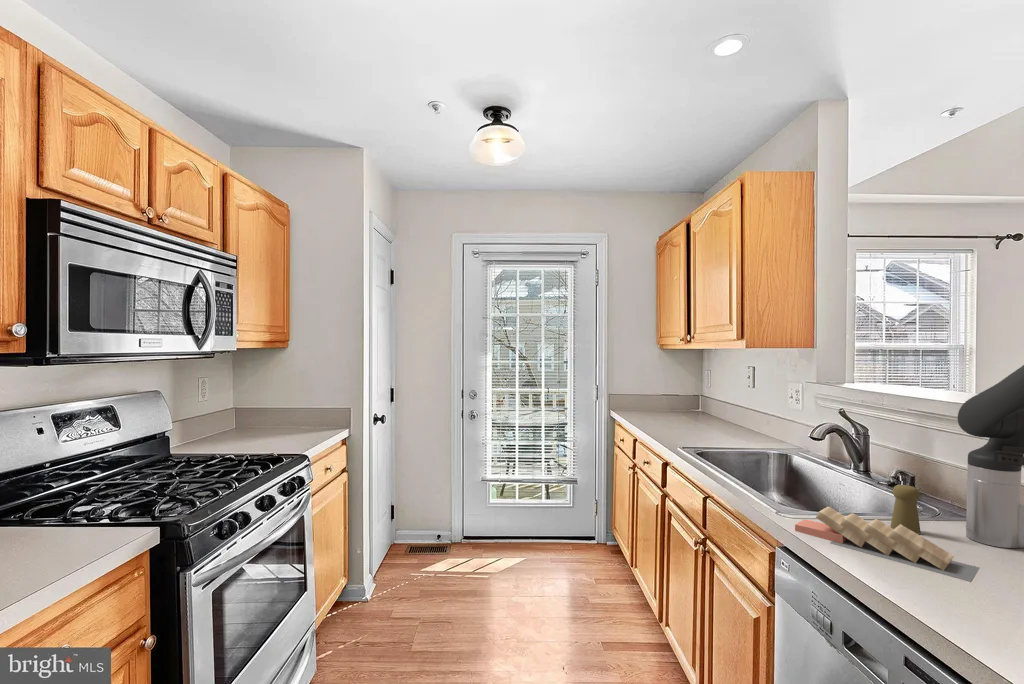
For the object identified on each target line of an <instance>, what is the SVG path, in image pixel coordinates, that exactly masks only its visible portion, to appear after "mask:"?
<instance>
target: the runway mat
mask: <svg viewBox="0 0 1024 684" xmlns="http://www.w3.org/2000/svg"><path fill="white" fill-rule="evenodd" d="M829 544H830V545H835V546H837V547H842V548H846V549H849V550H852V551H856V552H860V553H863V554H867V555H871V556H874V557H878V558H883V559H885V560H889V561H893V562H897V563H900V564H903V565H907V566H911V567H915V568H918V569H922V570H924V571H930V572H933V573H936V574H940V575H944V576H947V577H951V578H955V579H958V580H962V581H965V582H969V583H971V582H972V581H973V580H974V578H975V576H976V575H977V573H978V572H979V569H980V567H979V566H975V565H971V564H969V563H968V564H967V563H963V562H959V561H956V560H953V559H952V560H951V562H950V563H949V565H948V566H947V567H946V568H945V570H944V571H943V570H941V569H940V568H938V567H936V566H935V565H933V564H932V563H930V562H928V561H927V560H925V559H923V558H922V557H921V558H920V559H919V560H918V561H917V562H916V563H914V562H913V561H911V560H909V559H908V558H906V557H905V556H903V555H901V554H900V553H898V552H897V551H895V550H894V551H893V552H892V553H891V554H890V555H889V556H887V555H886V554H884V553H883V552H881V551H880V550H878V549H877V548H875V547H874V546H872V545H871V544H869V543H866V544H865V545H864V546H862V547H860V546H858V545H857V544H855V543H854V542H852V541H851V540H849V539H848V540H847V541H845V542H844V543H839V542H835V541H830V542H829Z"/></svg>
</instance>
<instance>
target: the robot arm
mask: <svg viewBox="0 0 1024 684" xmlns="http://www.w3.org/2000/svg"><path fill="white" fill-rule="evenodd" d="M957 423H958V426H959V428H960V429H961V430H962V431H963V432H965V433H966V434H968V435H970V436H974V437H978V438H985V439H986V438H988V441H987V442H986V444H984V445H983V446H981V447H978V448H975V449H973V450H971V451H969V452H968V453H967V471H966V472H967V474H966V477H967V481H966V518H965V519H966V520H965V521H966V522H965V523H966V525H965V530H966V531H965V535H966V537H967V538H968V539H970V540H972V541H975V542H977V543H981V544H984V545H988V546H993V547H999V548H1006V549H1008V548H1009V549H1015V548H1016V549H1018V548H1022V549H1023V548H1024V504H1023V503H1022V499H1021V498H1022V468H1023V469H1024V364H1023V365H1022V366H1020V367H1019V368H1017V369H1015V370H1014V371H1013V372H1011V373H1010V374H1008V375H1007V376H1006V377H1005V378H1003V379H1002V380H1000V381H999V382H997V383H996V384H994V385H992V386H990V387H989V388H986V389H985V390H982V391H981V392H979V393H978V394H975V395H974V396H972V397H970V398H968V399H967V400H965V402H963V404H962V405H961V406H960V408H959V410H958V413H957Z"/></svg>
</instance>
